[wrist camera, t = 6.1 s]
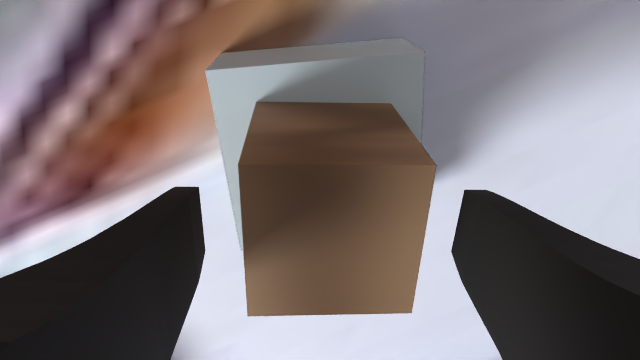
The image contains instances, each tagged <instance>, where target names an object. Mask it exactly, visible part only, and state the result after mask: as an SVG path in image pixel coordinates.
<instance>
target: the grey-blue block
mask: <svg viewBox="0 0 640 360" xmlns="http://www.w3.org/2000/svg"><path fill="white" fill-rule="evenodd" d="M424 61H425V51H423V50H422V49H420V48H418V47H417V46H415V45H414V44H412V43H410V42H409V41H407V40H406V39H404V38H390V39H378V40H367V41H355V42H343V43H332V44H320V45H308V46H297V47H285V48H274V49H262V50H250V51H239V52H227V53H221V54H220V55H219V56H218V57H217V58H216V59H215V60H214V62H213V63H212V64H211V65H210V66H209V67H208V68H207V69H206V70H205V72H206V77H207V82H208V87H209V92H210V97H211V102H212V107H213V112H214V117H215V122H216V127H217V133H218V138H219V143H220V148H221V153H222V158H223V163H224V168H225V173H226V178H227V183H228V188H229V194H230V199H231V204H232V209H233V214H234V219H235V224H236V229H237V234H238V239H239V244H240V250H243V236H242V220H241V205H240V189H239V174H238V162H239V159H240V155H241V152H242V149H243V145H244V142H245V138H246V135H247V131H248V128H249V125H250V121H251V118H252V114H253V111H254V107H255V104H256V102H326V103H391V104H392V105H393V106H394V108H395V109H396V111H397V112H398V113H399V115H400V116H401V117H402V119H403V120H404V121H405V123H406V124H407V126H408V127H409V128H410V130H411V131H412V132H413V134H414V135H415V136H416V138H417V139H418V140H419V142H420V143H421V140H422V114H423V87H424Z"/></svg>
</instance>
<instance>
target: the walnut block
mask: <svg viewBox="0 0 640 360" xmlns="http://www.w3.org/2000/svg"><path fill="white" fill-rule="evenodd" d="M436 166H437V165H436V164H435V162H434V161H433V160H432V158H431V157H430V155H429V154H428V153H427V151H426V150H425V149H424V147H423V146H422V145H421V143H420V142H419V140H418V139H417V138H416V136H415V135H414V134H413V132H412V131H411V130H410V128H409V127H408V126H407V124H406V123H405V121H404V120H403V119H402V117H401V116H400V115H399V113H398V112H397V111H396V109H395V108H394V106H393V105H392V104H391V103H326V102H256V104H255V107H254V111H253V114H252V118H251V121H250V125H249V128H248V131H247V135H246V138H245V142H244V145H243V149H242V152H241V155H240V159H239V162H238V174H239V189H240V205H241V220H242V236H243V251H244V267H245V283H246V298H247V314H248V316H284V315H337V314H390V313H412V308H413V302H414V296H415V290H416V284H417V278H418V272H419V266H420V260H421V255H422V249H423V243H424V237H425V231H426V225H427V219H428V213H429V207H430V201H431V195H432V189H433V183H434V178H435V172H436Z"/></svg>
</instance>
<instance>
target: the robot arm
mask: <svg viewBox="0 0 640 360" xmlns="http://www.w3.org/2000/svg"><path fill="white" fill-rule="evenodd" d="M451 252H452V255H453V258H454V261H455V264H456V267H457V270H458V272H459V275H460V278H461V280H462V283H463V285H464V287H465V289H466V291H467V293H468V295H469V296H470V298H471V300H472V302H473V304H474V306H475V308H476V310H477V312H478V313H479V315H480V317H481V319H482V321H483V323H484V325H485V326H486V328H487V330H488V332H489V334H490V336H491V338H492V340H493V341H494V343H495V345H496V347H497V349H498V351H499V353H500V355H501V357H502V359H503V360H640V259H637V258H635V257H632V256H630V255H627V254H624V253H622V252H619V251H617V250H614V249H611V248H609V247H607V246H604V245H602V244H599V243H597V242H595V241H593V240H590V239H588V238H586V237H584V236H582V235H579V234H577V233H575V232H573V231H571V230H569V229H566V228H564V227H562V226H560V225H558V224H556V223H554V222H552V221H550V220H548V219H546V218H544V217H542V216H540V215H538V214H536V213H534V212H532V211H531V210H529V209H527V208H525V207H523V206H521V205H519V204H517V203H515V202H513V201H511V200H509V199H507V198H505V197H502V196H500V195H498V194H496V193H493V192H490V191H488V190H464V195H463V199H462V204H461V209H460V213H459V218H458V223H457V227H456V232H455V237H454V241H453V246H452V251H451ZM204 254H205V244H204V234H203V224H202V214H201V204H200V195H199V187H174V188H172V189H170V190H168V191H167V192H165V193H163V194H162V195H160V196H159V197H157V198H156V199H154V200H153V201H151V202H150V203H148V204H147V205H145V206H143V207H142V208H140V209H139V210H137V211H136V212H134V213H133V214H131V215H130V216H128V217H126V218H125V219H123V220H122V221H120V222H118V223H116V224H115V225H113V226H111V227H110V228H108V229H106V230H104V231H103V232H101V233H99V234H98V235H96V236H94V237H92V238H91V239H89V240H87V241H85V242H83V243H81V244H79V245H77V246H75V247H73V248H71V249H69V250H67V251H65V252H62V253H60V254H58V255H56V256H54V257H52V258H50V259H47V260H45V261H43V262H40V263H38V264H35V265H33V266H30V267H28V268H25V269H22V270H20V271H17V272H15V273H12V274H10V275H7V276H5V277H2V278H0V360H170V359H171V356H172V353H173V351H174V348H175V345H176V343H177V340H178V337H179V334H180V332H181V329H182V326H183V324H184V321H185V318H186V316H187V313H188V310H189V308H190V305H191V302H192V299H193V297H194V294H195V291H196V288H197V285H198V282H199V278H200V274H201V269H202V264H203V259H204Z"/></svg>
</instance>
